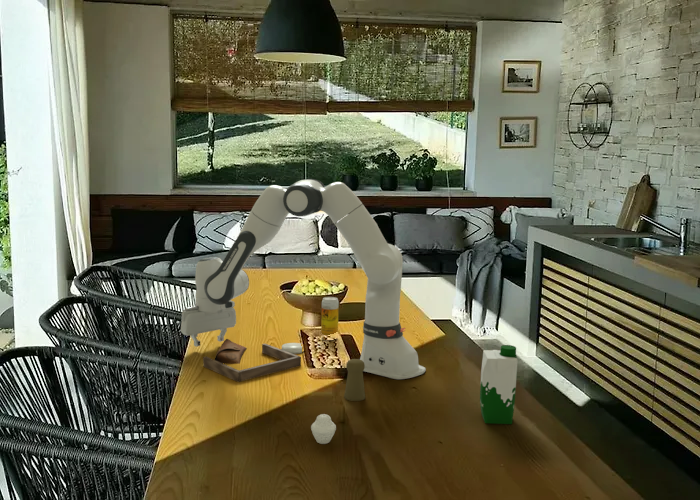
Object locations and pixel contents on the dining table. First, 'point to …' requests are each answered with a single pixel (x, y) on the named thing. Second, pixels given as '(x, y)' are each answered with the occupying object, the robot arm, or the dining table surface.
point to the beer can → (329, 315)
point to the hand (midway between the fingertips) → (209, 343)
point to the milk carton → (498, 385)
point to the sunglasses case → (230, 353)
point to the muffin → (323, 429)
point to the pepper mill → (355, 380)
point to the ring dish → (292, 348)
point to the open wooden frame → (285, 363)
